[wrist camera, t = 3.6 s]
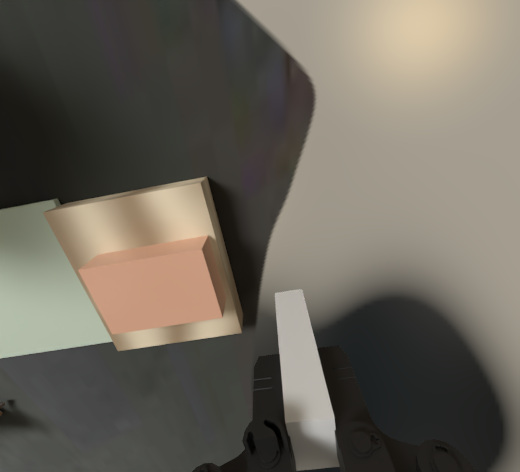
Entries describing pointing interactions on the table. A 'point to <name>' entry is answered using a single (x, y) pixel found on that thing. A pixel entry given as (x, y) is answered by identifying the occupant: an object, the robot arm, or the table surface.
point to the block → (156, 285)
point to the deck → (145, 234)
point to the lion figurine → (1, 407)
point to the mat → (40, 288)
